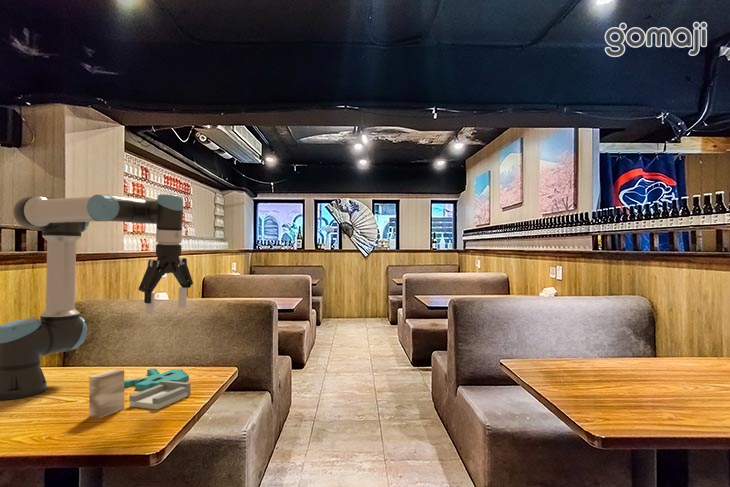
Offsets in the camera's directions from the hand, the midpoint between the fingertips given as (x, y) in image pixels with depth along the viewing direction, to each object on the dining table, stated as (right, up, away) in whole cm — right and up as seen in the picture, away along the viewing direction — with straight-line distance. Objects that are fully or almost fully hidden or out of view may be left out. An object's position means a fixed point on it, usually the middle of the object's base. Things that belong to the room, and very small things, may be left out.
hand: (166, 310), depth 147 cm
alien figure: (-10, -28, +15) cm, 33 cm away
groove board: (+1, -26, -6) cm, 27 cm away
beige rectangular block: (-10, -26, -17) cm, 33 cm away
